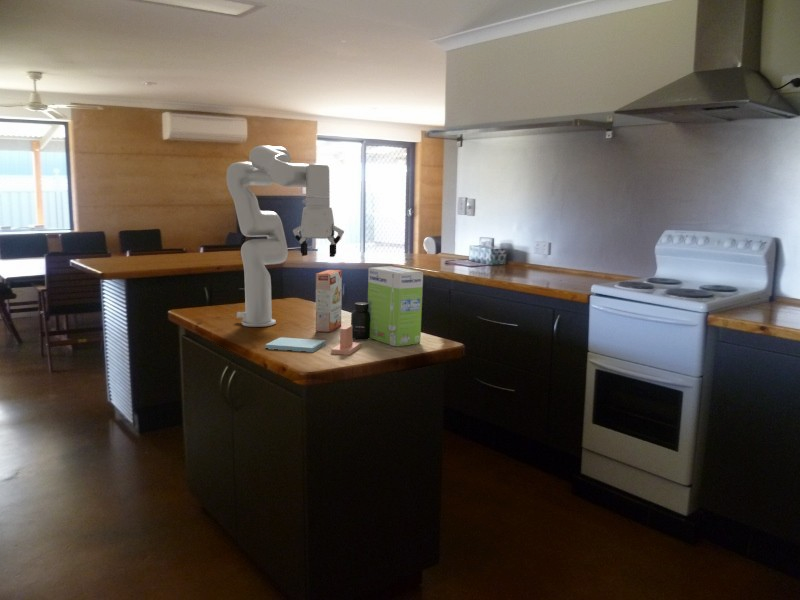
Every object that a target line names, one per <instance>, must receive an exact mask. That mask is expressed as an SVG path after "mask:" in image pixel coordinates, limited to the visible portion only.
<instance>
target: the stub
mask: <svg viewBox="0 0 800 600" xmlns="http://www.w3.org/2000/svg"><path fill="white" fill-rule="evenodd" d="M361 348H362V343H361V342H355V341H353V338H352V325H351V324H350V325H348V324H346V325H344V326H342V327H340V328H339V344H337V345H336V346H334V347H332V348H331V349H330V353H331V354H332V355H342V354H343V355H345V356H350V355H352V354H354V353H355V352H356V351H358V350H359V349H361Z"/></svg>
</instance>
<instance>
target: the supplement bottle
mask: <svg viewBox="0 0 800 600" xmlns="http://www.w3.org/2000/svg"><path fill="white" fill-rule="evenodd" d="M350 325H352V340H358V341H359V340H360V341H364V340H366V341H367V340H369V339H371V338H370V313H369V311H368V302H365V301H363V302H362V301H361V302H355V303H353V311H352V312H351V315H350Z"/></svg>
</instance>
